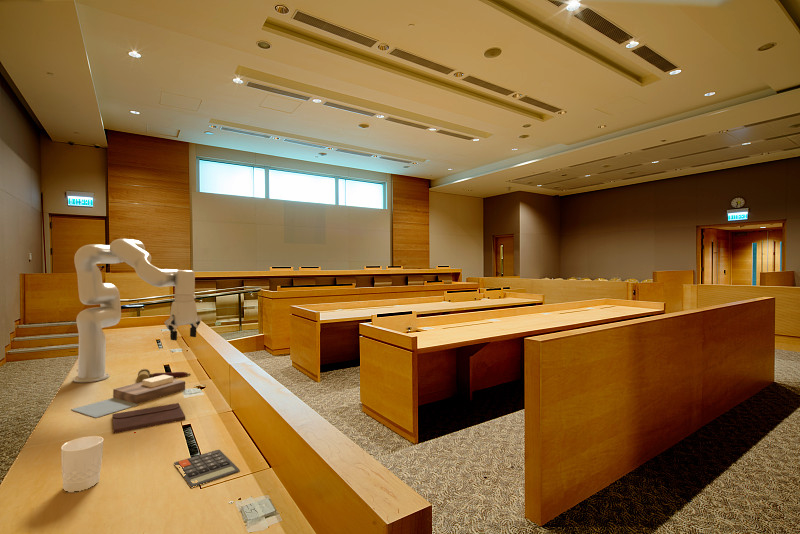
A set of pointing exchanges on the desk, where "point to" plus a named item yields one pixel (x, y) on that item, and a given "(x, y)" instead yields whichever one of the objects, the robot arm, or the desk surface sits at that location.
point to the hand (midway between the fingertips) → (183, 338)
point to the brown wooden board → (147, 391)
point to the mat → (104, 407)
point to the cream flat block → (157, 380)
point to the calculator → (207, 467)
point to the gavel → (158, 374)
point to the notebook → (147, 417)
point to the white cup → (81, 462)
